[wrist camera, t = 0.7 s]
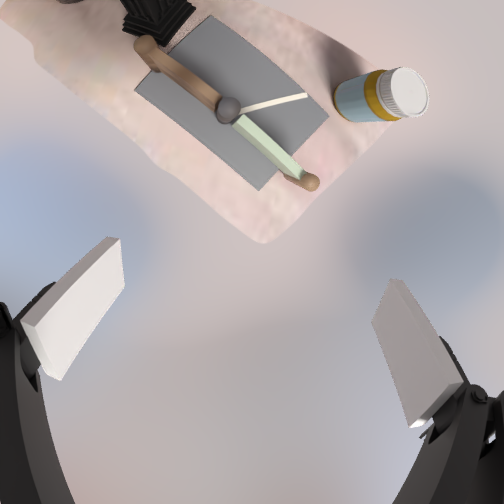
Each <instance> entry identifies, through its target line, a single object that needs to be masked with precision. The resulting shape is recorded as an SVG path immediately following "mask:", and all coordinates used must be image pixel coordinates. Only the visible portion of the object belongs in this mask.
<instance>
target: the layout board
mask: <svg viewBox="0 0 504 504" xmlns="http://www.w3.org/2000/svg"><path fill="white" fill-rule="evenodd" d="M168 56H170V57H171V58H173V59H174V60H175V61H177V62H178V63H180V64H181V65H182V66H184V67H185V68H187V69H188V70H189V71H191V72H192V73H193V74H195V75H196V76H197V77H199V78H200V79H201V80H202V81H204V82H205V83H206V84H208V85H209V86H210V87H211V88H213V89H214V90H215V91H216V92H218V93H219V94H220V95H221V96H222V99H224V98H226V97H233V98H236V99H237V100H238V101H239V102H240V104H241V111H240V113H239V114H238V115H237V116H236V117H235V118H234V119H233V120H232V122H230V123H229V124H221V123H219V122H218V120H217V118H216V115H217V110H218V109H217V110H216V111H215V112H213V111H211V110H210V109H209V108H208V107H206V106H205V105H204V104H203V103H201V102H200V101H199V100H198V99H196V98H195V97H194V96H192V95H191V94H190V93H189V92H187V91H186V90H185V89H183V88H182V87H181V86H179V85H178V84H177V83H175V82H174V81H173V80H171V79H170V78H169V77H167V76H166V75H165V74H163V73H162V72H161V73H155V72H153V71H151V72H150V73H149V75H148V76H147V77H146V78H145V79H144V80H143V81H142V82H141V84H140V85H139V86H138V87H137V88H136V89H135V91H136V92H137V93H138V94H140V95H141V96H142V97H144V98H145V99H146V100H148V101H149V102H150V103H152V104H153V105H154V106H156V107H157V108H158V109H160V110H161V111H162V112H163V113H165V114H166V115H167V116H169V117H170V118H171V119H172V120H174V121H175V122H176V123H177V124H179V125H180V126H181V127H183V128H184V129H185V130H186V131H188V132H189V133H190V134H191V135H193V136H194V137H195V138H196V139H197V140H199V141H200V142H201V143H202V144H204V145H205V146H206V147H207V148H208V149H210V150H211V151H212V152H213V153H215V154H216V155H217V156H218V157H219V158H220V159H222V160H223V161H224V162H225V163H226V164H228V165H229V166H230V167H231V168H232V169H234V170H235V171H236V172H237V173H238V174H239V175H241V176H242V177H243V178H244V179H245V180H246V181H247V182H249V183H250V184H251V185H252V186H253V187H254V188H256V189H257V190H258V191H260V189H261V188H262V187H263V186H264V185H265V184H266V183H267V182H268V181H269V180H270V178H271V177H272V176H273V175H274V174H275V173H276V172H277V171H278V170H279V168H278V167H277V166H276V165H275V164H273V163H272V162H271V161H270V160H269V159H268V158H267V157H266V156H265V155H264V154H263V153H261V152H260V151H259V150H258V149H257V148H256V147H255V146H254V145H252V144H251V143H250V142H249V141H248V140H247V139H246V138H244V137H243V136H242V135H241V134H240V133H239V132H238V131H236V130H235V129H234V128H233V127H232V125H233V124H234V122H235V121H236V120H237V119H239V118H240V117H241V116H242V115H243V114H244V115H245V116H247V117H248V118H249V119H250V120H251V121H252V122H253V123H255V124H256V125H257V126H258V127H259V128H260V129H261V130H262V131H264V132H265V133H266V134H267V135H268V136H269V137H270V138H271V139H272V140H273V141H274V142H276V143H277V144H278V145H279V146H280V147H281V148H282V149H283V150H284V151H285V152H286V153H287V154H288V155H289V156H290V157H291V156H292V155H293V154H294V153H295V152H296V151H297V150H298V148H299V147H300V146H301V145H302V144H303V143H304V142H305V141H306V140H307V139H308V138H309V137H310V136H311V135H312V134H313V133H314V132H315V131H316V130H317V129H318V128H319V127H320V126H321V125H322V123H323V122H324V121H325V120H326V119H327V118H328V117H329V115H328V114H327V113H326V112H325V111H324V110H323V109H322V108H321V107H320V106H319V105H318V104H317V103H316V102H315V101H314V100H313V99H312V98H311V97H310V96H309V95H308V94H307V93H306V92H305V91H304V90H303V89H302V88H301V87H300V86H299V85H298V84H297V83H296V82H295V81H294V80H292V79H291V78H290V77H289V76H288V75H287V74H286V73H285V72H284V71H282V70H281V69H280V68H279V67H278V66H277V65H276V64H274V63H273V62H272V61H271V60H270V59H269V58H267V57H266V56H265V55H264V54H263V53H261V52H260V51H259V50H258V49H256V48H255V47H254V46H253V45H251V44H250V43H249V42H247V41H246V40H245V39H244V38H242V37H241V36H240V35H238V34H237V33H236V32H234V31H233V30H231V29H230V28H229V27H227V26H226V25H224V24H223V23H222V22H220V21H219V20H217V19H216V18H214V17H213V16H210V17H208V18H207V19H206V20H205V21H204V22H202V23H201V24H200V25H199V26H198V27H196V28H195V29H194V30H193V31H192V32H191V33H190V34H189V35H187V36H186V37H185V38H184V39H183V40H182V41H181V42H180V43H179V44H178V45H177V46H176V47H175V48H174V49H173V50H172V51H171V52H170V53H169V54H168Z"/></svg>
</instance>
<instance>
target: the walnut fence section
mask: <svg viewBox="0 0 504 504" xmlns="http://www.w3.org/2000/svg"><path fill="white" fill-rule="evenodd" d="M134 49H135V51H136V52H137V53H138V54H139V55H140V57H141V58H142V59H143V60H144V61H145V62H146V64H147V65H148V66H149V67H150V68H151V70H152V71H153V72H155V73H161V72H162V73H163V74H165V75H166V76H167V77H169V78H170V79H171V80H173V81H174V82H175V83H177V84H178V85H179V86H181V87H182V88H183V89H185V90H186V91H187V92H189V93H190V94H191V95H192V96H194V97H195V98H196V99H198V100H199V101H200V102H201V103H203V104H204V105H205V106H206V107H208V108H209V109H210V110H211V111H213V112H215V111H216V110H217V109H218V110H217V115H216V118H217V120H218V122H219V123H221V124H229V123H230V122H232V120H233V119H234V118H235V117H236V116H237V115H238V114H239V113H240V111H241V104H240V102H239V101H238V100H237V99H236V98H233V97H226V98H224V99H222V96H221V95H220V94H219V93H218V92H216V91H215V90H214V89H213V88H211V87H210V86H209V85H208V84H206V83H205V82H204V81H202V80H201V79H200V78H199V77H197V76H196V75H195V74H193V73H192V72H191V71H189V70H188V69H187V68H185V67H184V66H182V65H181V64H180V63H178V62H177V61H175V60H174V59H173V58H171V57H170V56H168V55H167V54H166V53H164V52H163V51H161V50H160V49H159V47H158V45H157V43H156V41H155V40H154V38H153V37H152V36H150V35H143V36H141V37H139V38H138V39H137V40H136V41H135V43H134Z"/></svg>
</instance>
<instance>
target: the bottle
mask: <svg viewBox="0 0 504 504" xmlns="http://www.w3.org/2000/svg"><path fill="white" fill-rule="evenodd" d="M334 103H335V107H336V109H337V111H338V112H339V113H340V115H341V116H342V117H344V118H345V119H346V120H348V121H351V122H375V121H396V120H399V119H401V118H402V117H406V118H407V117H419V116H421V115H423V114H424V113H425V112H426V110H427V108H428V105H429V93H428V88H427V86H426V84H425V82H424V80H423V79H422V77H421V76H420V75H419V74H418V73H417V72H415V71H414V70H412V69H410V68H407V67H399V68H395V69H392V70H377V71H374V72H370V73H367V74H364V75H361V76H358V77H356V78H353V79H350V80H347V81H344V82H342V83H341V84H340V85H338V86H337V88H336V90H335V92H334Z"/></svg>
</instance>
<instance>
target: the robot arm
mask: <svg viewBox="0 0 504 504" xmlns="http://www.w3.org/2000/svg"><path fill="white" fill-rule="evenodd" d="M57 1H58V2H60V3H65V4H70V3H76V2H80V1H83V0H57ZM124 287H125V284H124V276H123V267H122V257H121V245H120V239H119V238H112V237H106V238H105V239H104V240H103V241H101V242H100V243H99V244H98V245H97V246H96V247H94V248H93V249H92V250H91V251H90V252H89V253H88V254H86V255H85V256H84V257H83V258H82V259H81V260H80V261H79V262H78V263H77V264H75V265H74V266H73V267H72V268H71V269H70V270H69V271H68V272H67V273H66V274H65V275H64V276H63V277H62V278H61V279H60V280H59V281H57V282H53V283H51V284H49V285H47V286H46V287H44V288H43V289H42V290H41V291H40V292H39V293H38V294H37V296H35V297H34V298H33V299H32V301H30V302H29V303H28V304H27V306H25V307H24V308H23V310H21V312H20V313H19V314H18V315H17V316H16V317H15V318H14V319H13V320H12V318H11V315H10V313H9V311H8V308H7V306H6V305H5V303H3V302H0V502H1V504H75V502H74V500H73V497H72V495H71V493H70V490H69V488H68V486H67V483H66V480H65V477H64V475H63V472H62V469H61V466H60V463H59V460H58V457H57V454H56V450H55V447H54V443H53V440H52V437H51V432H50V428H49V424H48V420H47V416H46V411H45V405H44V400H43V394H42V388H41V382H40V375H39V373H38V370H37V369H38V368H39V366H40V365H42V367H43V369H44V371H45V373H46V374H47V375H49V376H51V377H53V378H55V379H57V380H59V381H61V380H62V378H63V376H64V375H65V373H66V371H67V370H68V368H69V367H70V365H71V363H72V362H73V360H74V359H75V357H76V355H77V354H78V353H79V351H80V349H81V348H82V346H83V345H84V343H85V342H86V340H87V339H88V337H89V336H90V335H91V333H92V332H93V330H94V328H95V327H96V326H97V324H98V323H99V321H100V320H101V319H102V317H103V316H104V314H105V313H106V312H107V310H108V309H109V307H110V306H111V304H112V303H113V302H114V300H115V299H116V298H117V296H118V295H119V294H120V292H121V291H122V290H123V288H124ZM371 323H372V325H373V328H374V330H375V333H376V335H377V338H378V340H379V343H380V345H381V348H382V350H383V353H384V356H385V358H386V361H387V364H388V366H389V369H390V372H391V375H392V378H393V380H394V383H395V386H396V389H397V392H398V395H399V398H400V401H401V404H402V407H403V410H404V413H405V416H406V420H407V423H408V426H409V428H411V427H417V426H422V425H424V424H425V423H426V422H427V421H428V420H429V419H430V418H431V417H432V418H433V421H434V423H433V424H432V425H431V426H430V427H429V428H428V429H427V430H426V431H425V432H424V433H422V434H421V436H420V437H419V438H420V439H421V438H422V437H424V436H425V435H426V434H427V435H426V438H425V439H424V443H423V445H422V448H421V450H420V452H419V454H418V456H417V459H416V461H415V463H414V465H413V467H412V469H411V471H410V473H409V475H408V477H407V479H406V481H405V482H404V484H403V486H402V488H401V490H400V492H399V493H398V495H397V497H396V498H395V500H394V502H393V503H392V504H504V391H502V392H501V394H499V396H498V397H497V398H493V397H488V395H487V393H486V392H485V390H484V389H483V388H481V387H480V386H478V385H475V384H474V385H473V384H472V385H470V383H469V381H468V379H467V377H466V375H465V373H464V371H463V369H462V368H461V366H460V364H459V362H458V361H457V359H456V357H455V355H454V354H453V351H452V350H451V348H450V346H449V345H448V343H447V342H446V341H445V340H444V339H443V338H442V337H441V336H438V334H437V333H436V331H435V329H434V328H433V326H432V324H431V323H430V321H429V320H428V318H427V316H426V315H425V313H424V312H423V310H422V308H421V307H420V305H419V304H418V302H417V301H416V299H415V298H414V296H413V295H412V293H411V292H410V290H409V289H408V287H407V286H406V285H405V283H404V282H403V281H402V280H397V279H390V280H389V283H388V285H387V288H386V290H385V293H384V295H383V297H382V300H381V302H380V304H379V306H378V309H377V311H376V313H375V315H374V317H373V319H372V322H371ZM494 433H495V436H496V439H495V440H493V441H492V442H491V443H489V438H490V437H491V436H492V435H493V434H494Z"/></svg>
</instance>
